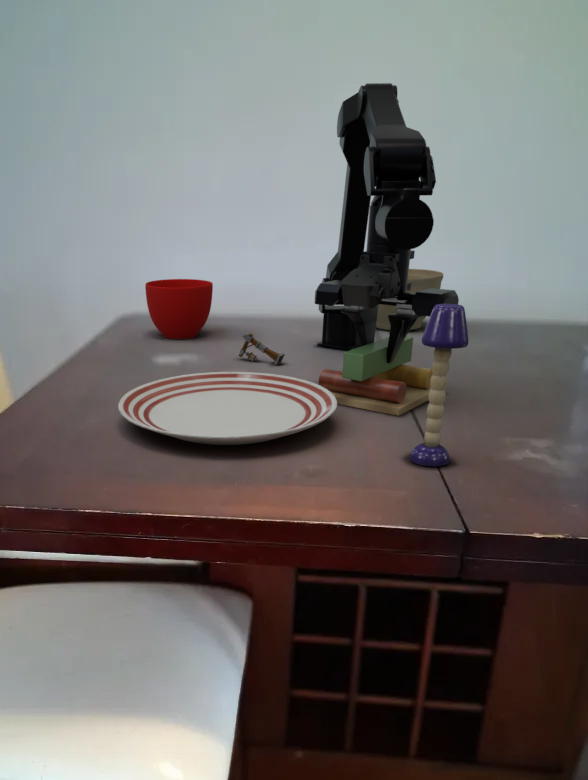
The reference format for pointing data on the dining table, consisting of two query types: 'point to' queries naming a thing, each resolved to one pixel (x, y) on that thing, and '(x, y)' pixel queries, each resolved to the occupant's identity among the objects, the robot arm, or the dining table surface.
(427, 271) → the planter bowl
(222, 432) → the dinner plate
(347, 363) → the bar
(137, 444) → the dining table surface
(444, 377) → the toy lamp
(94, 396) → the dining table surface
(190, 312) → the ceramic cup
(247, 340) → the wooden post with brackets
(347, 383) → the rod rack
